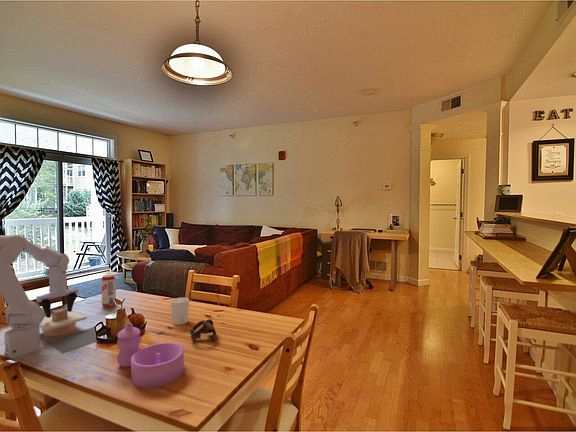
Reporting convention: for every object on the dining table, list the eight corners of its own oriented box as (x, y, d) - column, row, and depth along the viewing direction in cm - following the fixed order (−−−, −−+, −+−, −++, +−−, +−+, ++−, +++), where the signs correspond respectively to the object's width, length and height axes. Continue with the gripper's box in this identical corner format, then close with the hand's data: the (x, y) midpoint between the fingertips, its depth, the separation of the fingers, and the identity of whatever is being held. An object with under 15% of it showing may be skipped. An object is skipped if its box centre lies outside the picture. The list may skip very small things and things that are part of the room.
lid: (47, 330, 118) (47, 319, 117) (32, 323, 125) (31, 312, 124) (86, 318, 130) (86, 308, 129) (70, 312, 137) (69, 303, 136)
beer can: (105, 309, 154) (104, 277, 154) (100, 306, 158) (99, 276, 157) (118, 305, 159) (117, 275, 159) (112, 303, 163) (112, 273, 162)
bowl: (48, 339, 120) (48, 328, 120) (39, 332, 126) (38, 322, 126) (80, 330, 129) (79, 319, 129) (69, 324, 135) (69, 314, 135)
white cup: (185, 325, 133) (185, 303, 133) (168, 325, 134) (167, 303, 133) (191, 318, 141) (191, 297, 141) (175, 318, 141) (174, 297, 141)
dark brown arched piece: (215, 346, 115) (204, 329, 113) (195, 354, 117) (183, 338, 115) (223, 325, 127) (213, 310, 125) (204, 334, 128) (194, 319, 126)
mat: (62, 354, 108) (62, 353, 108) (46, 342, 117) (46, 341, 117) (115, 336, 123) (115, 335, 123) (97, 327, 132) (97, 326, 132)
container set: (194, 367, 100) (193, 328, 99) (155, 393, 86) (154, 348, 85) (142, 351, 111) (141, 315, 110) (100, 372, 97) (99, 331, 96)
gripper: (41, 287, 118) (42, 321, 119) (81, 279, 131) (83, 310, 131) (33, 285, 122) (34, 318, 122) (73, 277, 134) (74, 307, 135)
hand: (59, 314), depth 127 cm, fingers open, 7 cm apart
